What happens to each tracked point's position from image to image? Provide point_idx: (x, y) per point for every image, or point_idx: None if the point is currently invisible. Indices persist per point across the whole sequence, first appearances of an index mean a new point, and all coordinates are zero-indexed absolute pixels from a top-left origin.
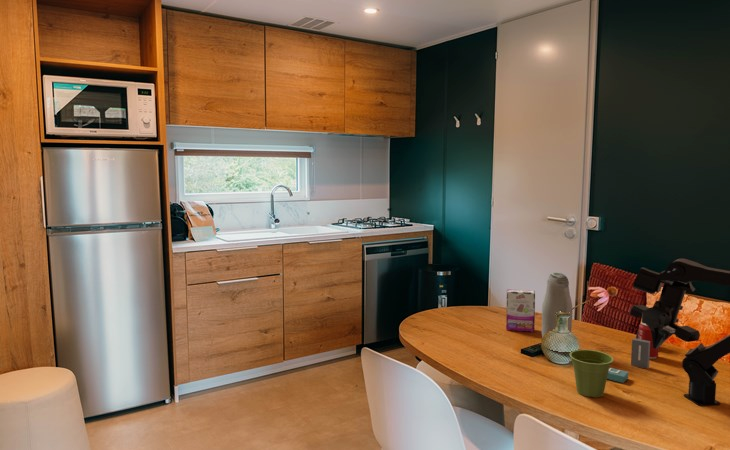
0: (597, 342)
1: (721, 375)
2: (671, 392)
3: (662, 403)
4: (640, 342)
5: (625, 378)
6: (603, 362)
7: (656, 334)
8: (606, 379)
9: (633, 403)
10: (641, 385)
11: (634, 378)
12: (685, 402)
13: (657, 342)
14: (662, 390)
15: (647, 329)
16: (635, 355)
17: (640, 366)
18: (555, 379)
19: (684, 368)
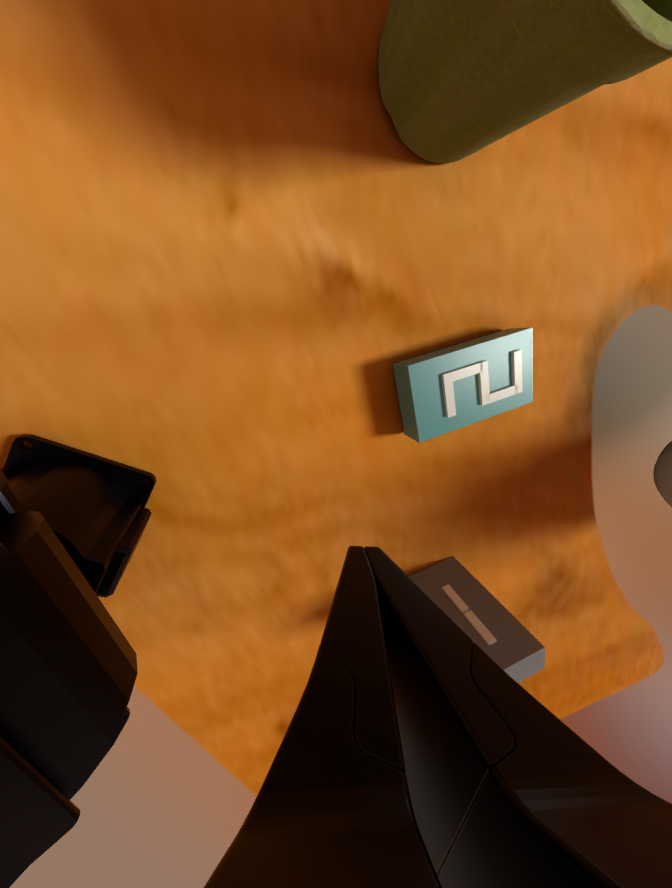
0: (586, 610)
1: (221, 755)
2: (215, 465)
3: (145, 292)
4: (504, 659)
5: (403, 396)
6: (557, 61)
7: (449, 740)
8: (420, 1)
9: (227, 138)
10: (335, 418)
11: (389, 461)
12: (96, 414)
13: (354, 605)
14: (251, 450)
15: None
16: (469, 593)
17: (425, 572)
18: (602, 123)
19: (28, 522)
